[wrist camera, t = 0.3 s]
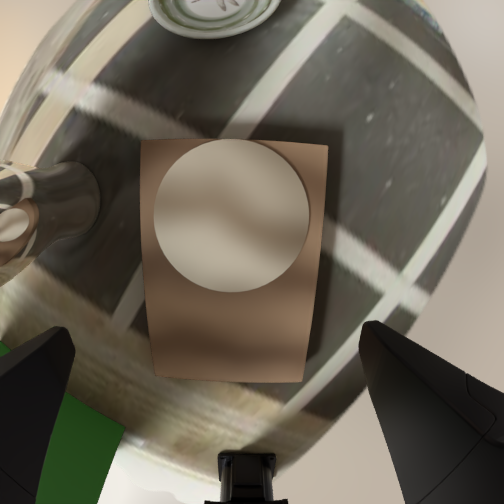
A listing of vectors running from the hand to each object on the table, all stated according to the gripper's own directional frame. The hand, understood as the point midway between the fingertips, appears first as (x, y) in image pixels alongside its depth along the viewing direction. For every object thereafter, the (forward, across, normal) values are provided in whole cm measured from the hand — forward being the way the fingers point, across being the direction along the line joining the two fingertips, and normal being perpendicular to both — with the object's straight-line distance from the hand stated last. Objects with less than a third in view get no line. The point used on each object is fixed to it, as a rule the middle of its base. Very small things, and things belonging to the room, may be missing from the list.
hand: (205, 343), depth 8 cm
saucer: (+17, 0, -17) cm, 24 cm away
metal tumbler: (+15, +13, -2) cm, 19 cm away
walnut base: (+14, 0, +4) cm, 14 cm away
